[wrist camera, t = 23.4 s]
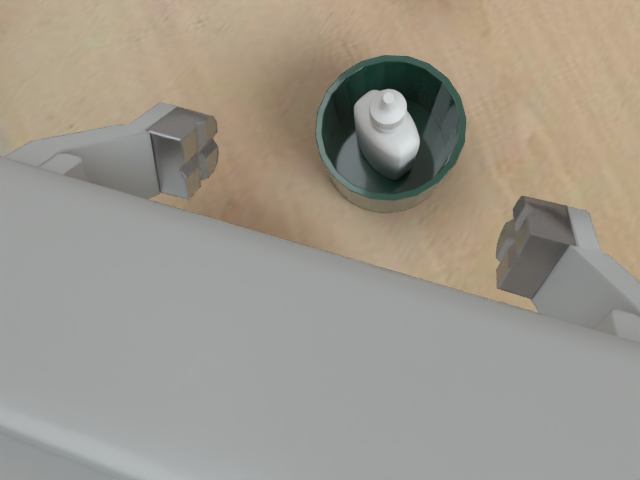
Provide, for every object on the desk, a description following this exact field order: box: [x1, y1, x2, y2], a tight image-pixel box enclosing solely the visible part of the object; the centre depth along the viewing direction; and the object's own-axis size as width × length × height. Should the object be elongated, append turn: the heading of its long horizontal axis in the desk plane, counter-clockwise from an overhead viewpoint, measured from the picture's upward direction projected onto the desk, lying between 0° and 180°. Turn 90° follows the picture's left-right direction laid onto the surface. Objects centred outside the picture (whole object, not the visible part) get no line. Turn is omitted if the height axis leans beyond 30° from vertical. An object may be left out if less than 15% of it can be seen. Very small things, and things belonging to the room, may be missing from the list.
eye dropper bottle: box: [354, 89, 420, 180], centre depth 32 cm, size 4×6×12 cm
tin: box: [315, 55, 466, 213], centre depth 35 cm, size 11×11×7 cm
